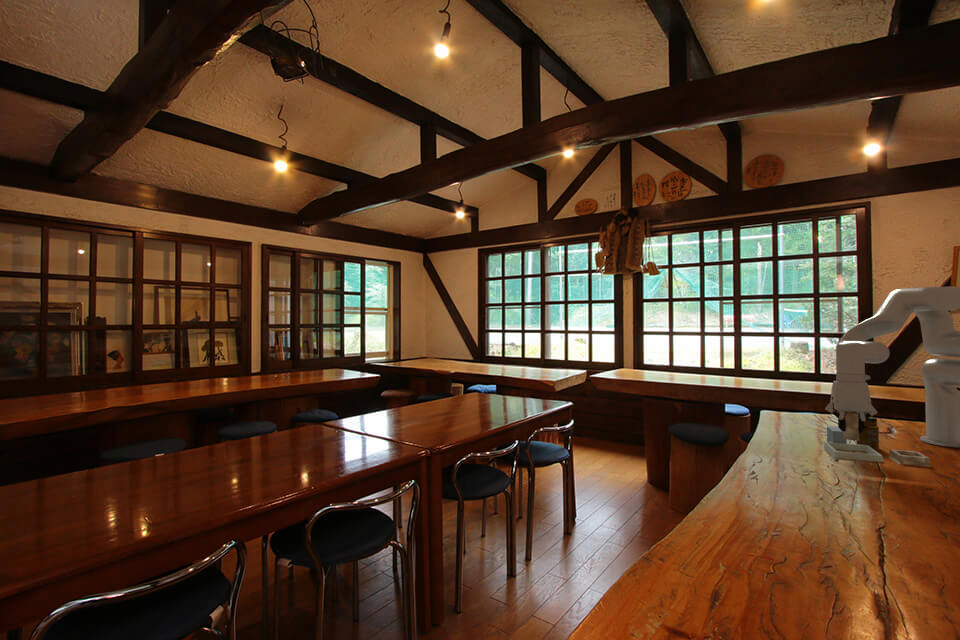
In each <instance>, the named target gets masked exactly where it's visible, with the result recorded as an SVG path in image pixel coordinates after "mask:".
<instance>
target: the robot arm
mask: <svg viewBox="0 0 960 640" xmlns="http://www.w3.org/2000/svg"><path fill="white" fill-rule="evenodd" d="M957 310H960V287H958V286H953V285H952V286H922V287H904V288H898V289H897V288H896V289H894V290H892V291H890V292H889V294H888V295H887V296H886V297H885V299H884V300H883V302H882V303H881V304H880V306H879V307H878V308H877V310H876V312H875V313H874V314H873V315H872V316H871V317H870V318H867V319H865V320H863V321H861V322H860V323H857V324H855V325H854V326H853V327H851V328H849V329H848V330H847V331H846V332H845V333H844V334H843V336H841V338H840V340H839V341H838V342H837V344H836V346H835V358H836V359H835V362H836V363H835V364H836V365H835V372H836V379H835V380H833V382H832V386H831V392H830V402H829V403H828V404H827V405H826V407H824V408H825V410H826V411H828V412H829V413H830V414H832V415H833V416H835V417H836V418H837V427H838V428H840V430H841V431H843V432H845V420H844V413H845V412H855V413H859V432H860V433H863V430H864V421H866V419H868V418H869V417H873V416H875V415H876V414H878V410H877V409H876V408H875V407H874V406H873V405H872V399H871V398H872V397H871V393H870V388H869V385H868V383H867V381H868V380H871V376H870V375H867V374H866V367H865V365H866V364H882V363H884V362H886V361H887V360H888V359H889V357H890V354H891V353H890V349H889V347H888V346H887V345H886V344H884V343H882V342H879V341H868V340H870V339H873V338H876V337H877V338H878V337H880V336H885V335H889V334H892V333H896V332H898V331H900V330H901V329H902V328H903V327H904V325H905V324H906V322H907V321H908V319H909V317H910V316H911V315H912V313H913V314H914V315H915V316H916V317H917V318H918V321H919V324H920V331H921V336H922V342H923V348H924V351H925V352H926V353H927V354H929V355H932V356H939V357H951V358H953V357H955V358H957V357H958V358H960V330H956V329H955V324H954V319H953V316H952V314H951V313H950V312H949V311H957ZM920 368H921V369H920V372H921V376H922V377H921V378H922V380H923V383H924V393H925V397H924V398H925V399H924V400H925V435H921V436H920V437H919V439H920V441H922V442H923V443H925V444H930V445H935V446H942V447H948V448H959V449H960V391H959V390H958V389H957V387H960V359H954V358H953V359H949V358H930V359H927V360H926V361H924V362H923V363H922V364H921V367H920Z"/></svg>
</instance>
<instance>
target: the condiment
mask: <svg viewBox="0 0 960 640" xmlns="http://www.w3.org/2000/svg"><path fill="white" fill-rule="evenodd" d="M879 429H880V428H879V426H878V418H877V417H874V416H870V417H869V418H868V419H866V421H864V430H863V433H860V432H859V440H858V441H856V443H855V444H858V445H868V446H870V447H871V448H872V449H874V450H875V451H877V450H879V449H880V440H879V438H880V437H879Z"/></svg>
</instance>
